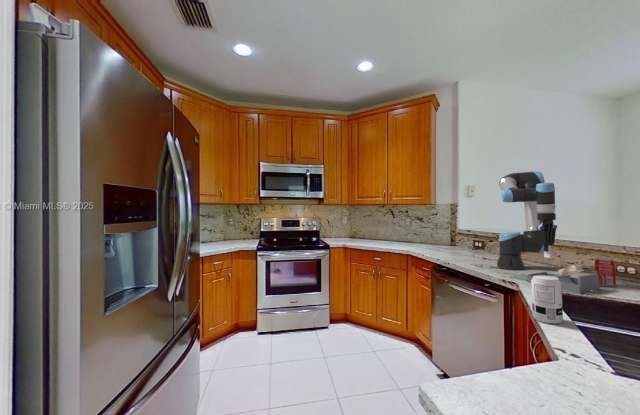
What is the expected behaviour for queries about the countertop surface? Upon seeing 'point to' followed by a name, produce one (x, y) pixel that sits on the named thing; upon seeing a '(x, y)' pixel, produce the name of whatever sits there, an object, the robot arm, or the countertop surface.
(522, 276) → the green mat
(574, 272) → the lever
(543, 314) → the supplement can
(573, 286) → the charcoal tray
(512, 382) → the countertop surface
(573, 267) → the maple bar
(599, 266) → the red toy chair
